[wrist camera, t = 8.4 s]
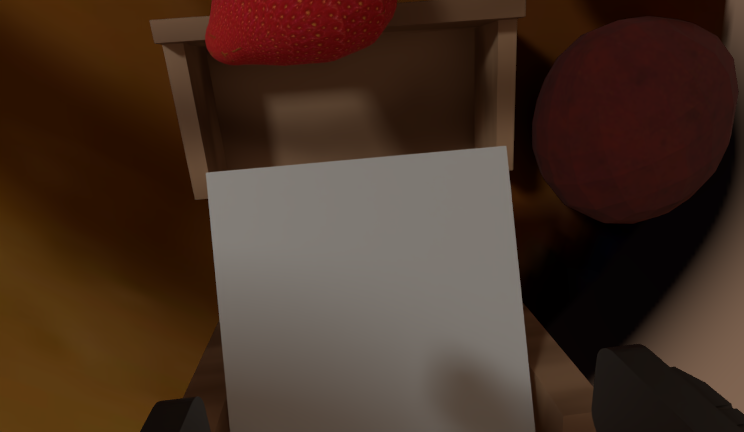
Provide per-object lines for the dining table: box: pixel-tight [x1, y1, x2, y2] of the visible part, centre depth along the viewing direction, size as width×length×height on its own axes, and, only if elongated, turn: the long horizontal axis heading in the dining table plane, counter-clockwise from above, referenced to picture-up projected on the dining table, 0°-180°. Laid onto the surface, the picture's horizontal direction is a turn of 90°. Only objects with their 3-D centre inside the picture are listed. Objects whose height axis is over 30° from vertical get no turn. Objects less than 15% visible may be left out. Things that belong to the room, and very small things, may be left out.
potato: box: [532, 16, 739, 224], centre depth 25 cm, size 12×11×8 cm
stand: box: [150, 0, 596, 432], centre depth 23 cm, size 26×18×15 cm
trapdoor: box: [206, 146, 535, 432], centre depth 19 cm, size 20×13×4 cm, turn 4°
